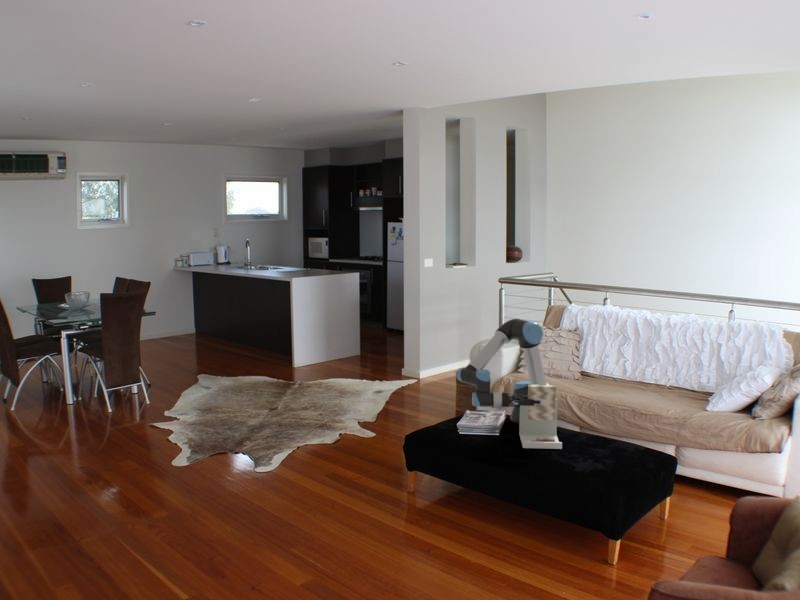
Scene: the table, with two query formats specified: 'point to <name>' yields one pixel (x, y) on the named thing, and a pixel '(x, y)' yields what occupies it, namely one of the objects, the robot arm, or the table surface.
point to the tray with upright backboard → (538, 431)
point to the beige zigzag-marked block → (540, 410)
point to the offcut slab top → (545, 439)
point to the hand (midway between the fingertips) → (546, 400)
